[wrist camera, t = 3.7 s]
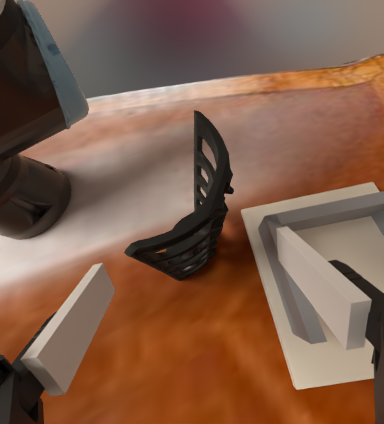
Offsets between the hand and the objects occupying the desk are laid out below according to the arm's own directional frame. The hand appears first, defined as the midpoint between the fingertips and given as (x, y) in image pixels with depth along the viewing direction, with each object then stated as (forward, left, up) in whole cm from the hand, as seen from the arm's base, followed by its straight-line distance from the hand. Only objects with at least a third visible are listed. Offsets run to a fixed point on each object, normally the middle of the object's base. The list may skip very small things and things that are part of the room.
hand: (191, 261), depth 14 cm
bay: (+2, +17, -14) cm, 23 cm away
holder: (-5, -1, -15) cm, 15 cm away
